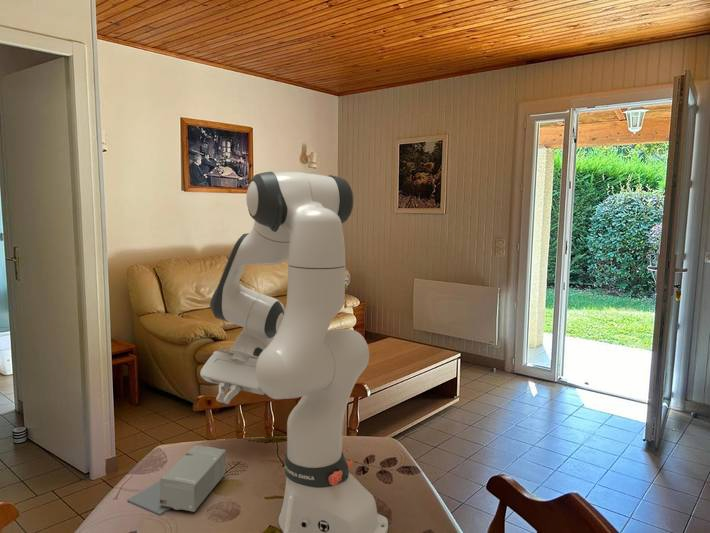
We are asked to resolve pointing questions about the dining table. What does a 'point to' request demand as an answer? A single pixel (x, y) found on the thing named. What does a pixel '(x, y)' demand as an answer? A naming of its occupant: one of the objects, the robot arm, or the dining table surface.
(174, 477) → the skincare box
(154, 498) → the mat
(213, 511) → the dining table surface
